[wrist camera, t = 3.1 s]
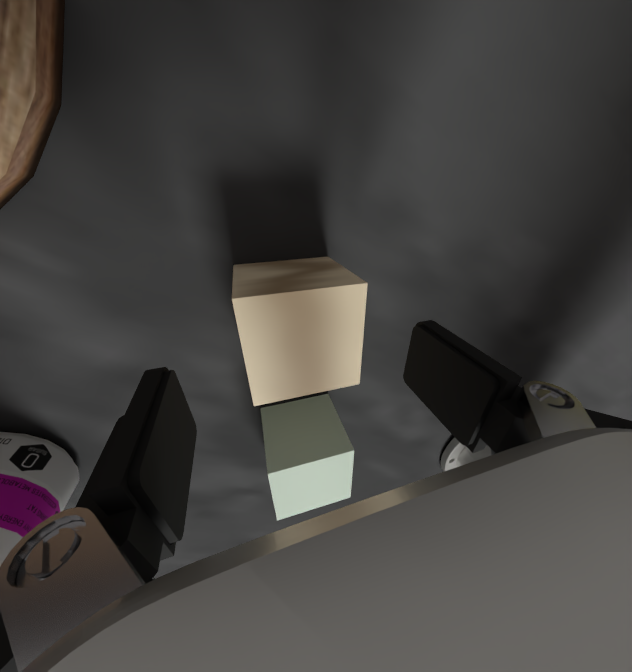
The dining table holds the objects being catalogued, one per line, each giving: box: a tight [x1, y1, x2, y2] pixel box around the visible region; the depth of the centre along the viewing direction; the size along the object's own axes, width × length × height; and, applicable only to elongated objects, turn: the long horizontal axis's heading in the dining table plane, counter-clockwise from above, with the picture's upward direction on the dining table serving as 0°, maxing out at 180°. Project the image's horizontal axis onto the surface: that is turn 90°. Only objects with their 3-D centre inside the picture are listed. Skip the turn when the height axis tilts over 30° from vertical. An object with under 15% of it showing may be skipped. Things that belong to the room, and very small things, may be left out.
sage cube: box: [260, 394, 354, 520], centre depth 21 cm, size 6×6×6 cm
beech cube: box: [232, 257, 367, 406], centre depth 15 cm, size 6×6×6 cm
